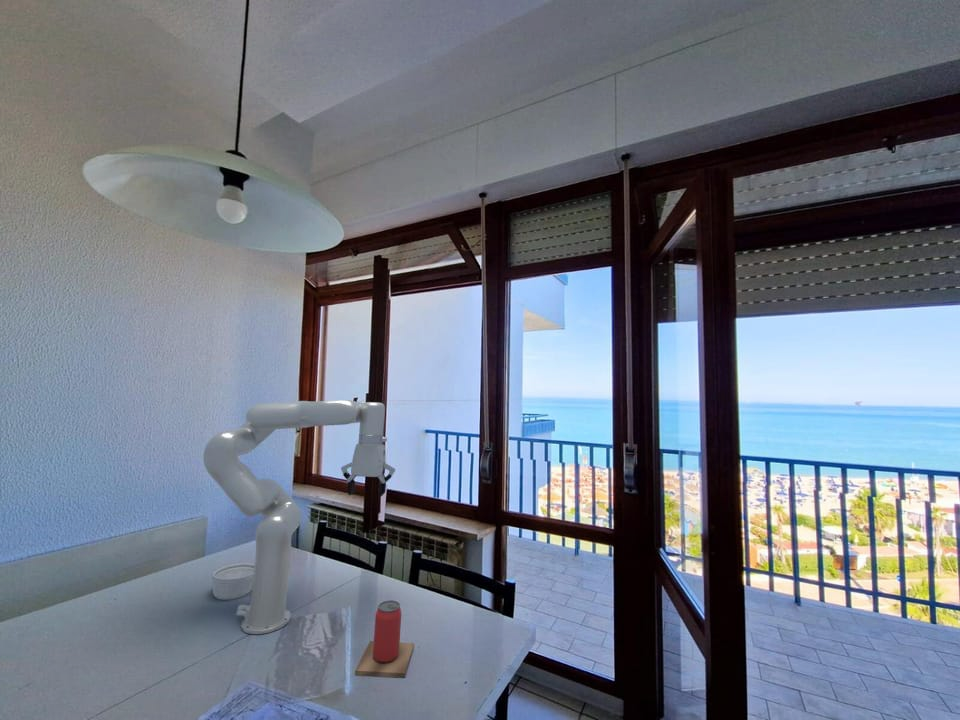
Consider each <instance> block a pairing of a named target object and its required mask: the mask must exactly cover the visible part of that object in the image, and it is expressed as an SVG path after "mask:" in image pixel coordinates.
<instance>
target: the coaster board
mask: <svg viewBox="0 0 960 720" xmlns="http://www.w3.org/2000/svg"><path fill="white" fill-rule="evenodd" d="M373 644H374V640H370V641H369V643H368V645H367V647H366V648H365V650H364V652H363V655H362V656H361V658H360V661H359V663H358V664H357V667H356V668H355V670H354V676H361V677H362V676H363V677H364V676H365V677H382V678H401V679H405V677H406V674H407V671H408V667H409V665H410V661H411V658H412V654H413V651H414V648H415V647H414V646H415V643H413V642H400V644H399V654H398V656H397V657H396V658H395V659H394V660H392V661H390V662H385V663H382V662H378V661H376V660H375V659H374V657H373Z"/></svg>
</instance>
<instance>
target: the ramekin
mask: <svg viewBox="0 0 960 720" xmlns="http://www.w3.org/2000/svg"><path fill="white" fill-rule="evenodd" d="M254 566H255V563H254V564H253V563H247V562H245V563H236V564H229V565H226V566H222V567H221V568H219V569H217V570H215V571H214V572H213V574H212V592H213V594H212V595H213V596H214V597H215V598H216V599H218V600H224V601H227V600H230V601H231V600H235V599H239V598H241V597H245V596H246V595H248V594H249V593H251V592H252V585H253V576H254Z"/></svg>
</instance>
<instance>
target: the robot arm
mask: <svg viewBox="0 0 960 720" xmlns="http://www.w3.org/2000/svg"><path fill="white" fill-rule="evenodd" d="M385 412H386V407H385V404H384V403H382V402H377V401H376V402H375V401H373V402H371V401H368V402H367V401H366V402H361V401H360V402H359V401H354V400H348V399H343V400H324V401H323V400H322V401H321V400H320V401H308V400H297V401H296V400H295V401H276V402H275V401H272V402H269V401H268V402H259V403H255V404H254V405H252V406H250V407H249V408H248V410H247V412H246V414H245V420H246V422H244V423H243V424H242V425H241V426H239V427H238V428H232V429H226V430H222V431H220V432H217V433H216V434H215V435H213V436H212V437H211V438H210V439H209V440H208V442H207V444H206V445H205V448H204V450H203V455H202V457H203V458H202V459H203V465H204V468H205V469H206V472H207V473H208V474H209V476H210V477H211V478H212V479H213V481H215V483H217V485H218V486H219V487H220V488H221V489H222V490H223V492H224V493H225V495H226V496H227V497H228V498H229V499H230V501H231V502H232V503H233V504H234V505H235V507H236V508H237V509H238V510H239V511H240V513H242V514H243V515H244V516H247V517H255V516H259V515H260V514H261V516H263V517H262V519H261V520H260V521H259V523H258V525H257V527H256V531H255V557H254V559H255V560H254V565H255V566H254V576H253V585H252V590H251V594H250V595H251V596H250V603H249V604H248V605H247V604H240V605H238V607H237V611H236V616H238V617H244V619H243V620H242V622H241V630H242V631H243V632H244V633H247V634H251V635H262V634H263V635H264V634H268V633H272V632H275V631H277V630H279V629H282V628H283V627H285V626H286V625H287V624H288V623H289V622H290V620H291V616H292V615H291V611H289V610H288V609H287V600H288V599H287V598H288V588H289V581H290V571H291V570H290V569H291V559H292V536H293V534H294V532H295V531H296V530H297V529H298V527H299V526H300V524H301V522H302V519H303V518H302V512H301V509H300V507H299V506H298V505H297V504H296V502H295V501H294V500H293V498H292V497H291V496H290V495H289V494H288V493H287V492H286V490H285V489H284V488H283V487H282V486H281V485H280V484H279V483H278V482H277V481H275V480H274V479H272V478H260V479H259V478H258V477H257V476H256V475H255V474H254V472H252V470H251V469H250V468H249V467H248V466H247V465H246V464H244V463H243V462H242V461H241V460H240V459H239V456H242V455H243V456H244V455H246V454H248V453H250V452H253V451H254V450H255V449H256V448H257V447H259V445H260V444H262V442H264V441H265V440H266V439H267V438H269V436H271V435H272V434H273V432H275V431H276V430H284V429H286V430H287V429H304V428H305V429H307V428H310V427H311V428H312V427H322V426H324V427H325V426H326V427H327V426H343V425H350V424H351V425H352V424H359V431H358V432H359V433H358V443H356V444H355V447H354V448H355V449H354V451H353V455H352V460H351V462H349V463H347V464H345V465H342V466H341V467H340V470H341V472H342V475H343V477H344V478H345V480H346V482H347V492H348V495H349V496H352V495H353V494H355V484H356V481H355V478H356V477H366V478H367V477H368V478H378V479H379V481H380V483H379V490H378V496H379V497H382V496H384V494H386V490H387V489H386V488H387V482H388V481H389V480H390V479H391V478H392V477H393V476H394V474H395V473H396V468H394V467H393V466H391V465H389V464H388V463H387V462H386V460H387V458H386V457H387V455H386V454H387V453H386V446H385V444H383V443H385V442H388V437H385V436H384V426H385V425H384V423H385ZM349 468H350V472H351V473H349V471H348V469H349ZM386 471H389V473H388V474H387V475H385V473H386Z"/></svg>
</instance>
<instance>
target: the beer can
mask: <svg viewBox="0 0 960 720" xmlns="http://www.w3.org/2000/svg"><path fill="white" fill-rule="evenodd" d="M401 610H402V609H401V604H400V602H398V601H396V600H391V599H389V600H385V601H382V602H381V603H379V604H378V606H377V610H376V611H375V616H374V617H375V619H374V633H373V641H374V644H373V657H374V659H375V660H376V661H378V662H382V663H385V662H390V661H392V660H394V659H395V658H396V657H397V656H398V654H399V644H400V643H401V627H402V626H401V625H402V611H401Z"/></svg>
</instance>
